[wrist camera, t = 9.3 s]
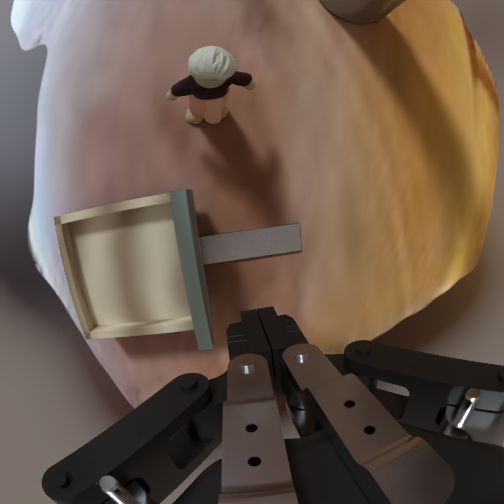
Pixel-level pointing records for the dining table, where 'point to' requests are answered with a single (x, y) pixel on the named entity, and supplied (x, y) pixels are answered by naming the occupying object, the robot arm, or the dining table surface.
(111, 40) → the dining table surface
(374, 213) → the dining table surface
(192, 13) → the dining table surface
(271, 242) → the strip
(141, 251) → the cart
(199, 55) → the grandmother figurine
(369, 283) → the dining table surface
